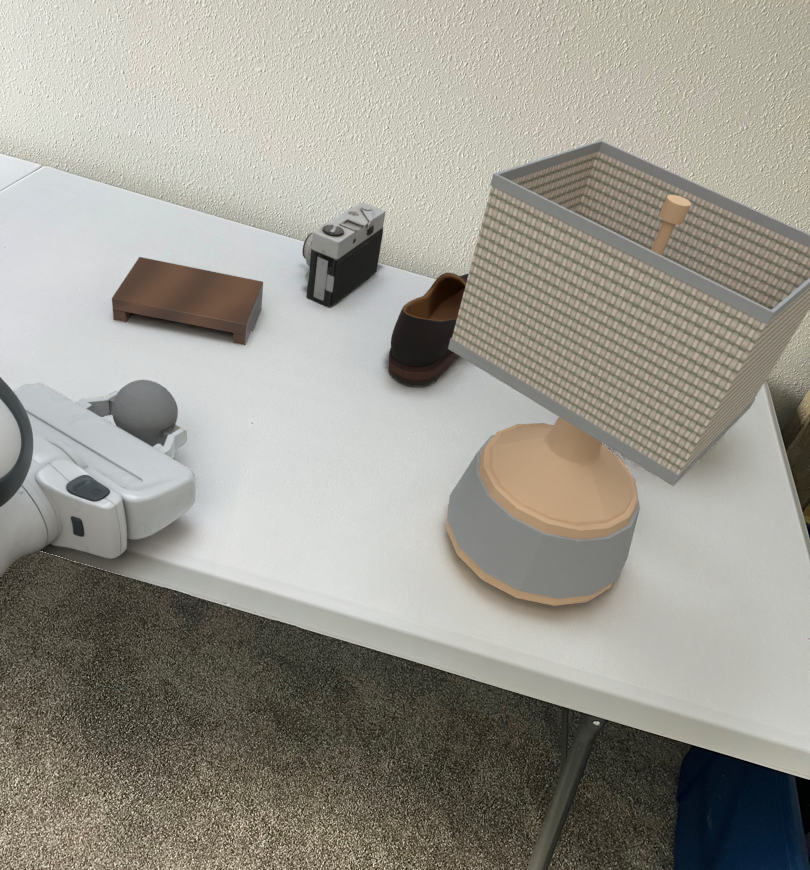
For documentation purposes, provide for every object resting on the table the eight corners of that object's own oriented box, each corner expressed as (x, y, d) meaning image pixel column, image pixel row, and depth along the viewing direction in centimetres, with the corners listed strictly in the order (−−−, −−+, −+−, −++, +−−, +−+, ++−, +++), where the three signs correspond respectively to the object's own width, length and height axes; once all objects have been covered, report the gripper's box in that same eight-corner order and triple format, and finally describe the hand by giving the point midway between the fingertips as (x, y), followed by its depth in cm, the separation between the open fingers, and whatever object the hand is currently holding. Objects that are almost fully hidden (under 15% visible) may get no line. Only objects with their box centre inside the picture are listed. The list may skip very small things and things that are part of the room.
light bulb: (159, 494, 77) (155, 413, 70) (105, 473, 78) (95, 391, 71) (190, 460, 82) (189, 380, 75) (139, 440, 82) (133, 360, 75)
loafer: (510, 316, 116) (529, 253, 109) (434, 404, 97) (452, 335, 90) (452, 292, 118) (468, 229, 111) (366, 374, 98) (379, 304, 92)
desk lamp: (393, 531, 80) (484, 163, 54) (496, 457, 92) (612, 125, 66) (568, 661, 72) (773, 306, 46) (657, 562, 84) (859, 234, 58)
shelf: (114, 327, 95) (111, 298, 93) (140, 285, 103) (139, 256, 100) (244, 352, 97) (246, 324, 94) (261, 308, 105) (263, 281, 102)
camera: (331, 254, 119) (339, 188, 112) (378, 273, 117) (389, 208, 110) (281, 287, 109) (286, 217, 102) (332, 309, 108) (341, 240, 101)
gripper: (-41, 461, 72) (76, 396, 81) (128, 568, 67) (233, 487, 76) (-57, 405, 67) (69, 344, 76) (123, 516, 62) (235, 436, 72)
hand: (152, 416), depth 76 cm, fingers closed on light bulb, 6 cm apart
